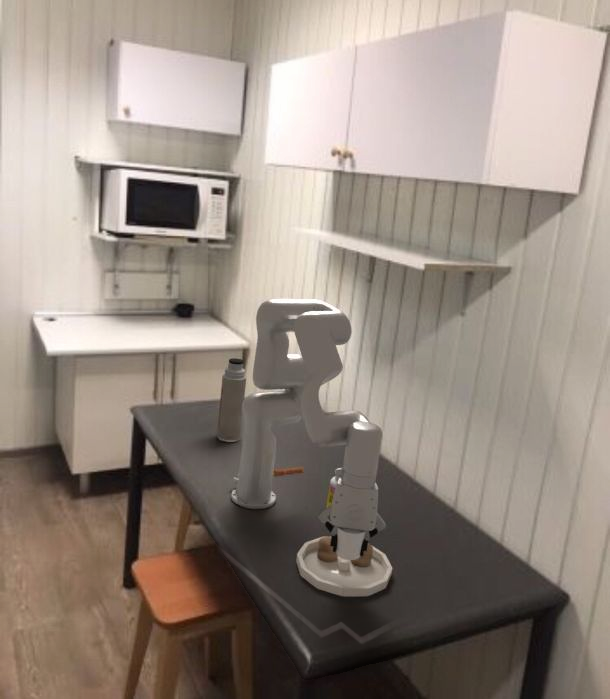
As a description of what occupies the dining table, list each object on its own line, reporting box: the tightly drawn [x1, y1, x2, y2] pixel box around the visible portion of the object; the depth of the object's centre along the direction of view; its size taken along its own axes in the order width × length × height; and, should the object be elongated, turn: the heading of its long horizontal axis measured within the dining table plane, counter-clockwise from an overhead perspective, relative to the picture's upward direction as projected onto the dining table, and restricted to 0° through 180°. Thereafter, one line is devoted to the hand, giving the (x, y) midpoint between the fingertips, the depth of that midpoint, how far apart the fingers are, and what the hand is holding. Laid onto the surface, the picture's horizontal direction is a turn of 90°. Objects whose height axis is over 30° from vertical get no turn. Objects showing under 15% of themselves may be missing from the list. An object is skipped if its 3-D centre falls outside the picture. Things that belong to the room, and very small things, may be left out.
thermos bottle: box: [216, 357, 247, 440], centre depth 232 cm, size 8×8×28 cm
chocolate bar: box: [273, 466, 305, 477], centre depth 213 cm, size 3×12×2 cm, turn 118°
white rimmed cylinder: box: [336, 527, 365, 560], centre depth 155 cm, size 7×7×7 cm
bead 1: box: [317, 536, 338, 562], centre depth 167 cm, size 5×5×4 cm
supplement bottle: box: [325, 467, 342, 510], centre depth 190 cm, size 7×7×13 cm
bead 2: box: [351, 543, 374, 567], centre depth 167 cm, size 5×5×4 cm
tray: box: [295, 536, 393, 598], centre depth 163 cm, size 22×22×3 cm
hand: (348, 550), depth 156 cm, fingers closed on white rimmed cylinder, 5 cm apart
